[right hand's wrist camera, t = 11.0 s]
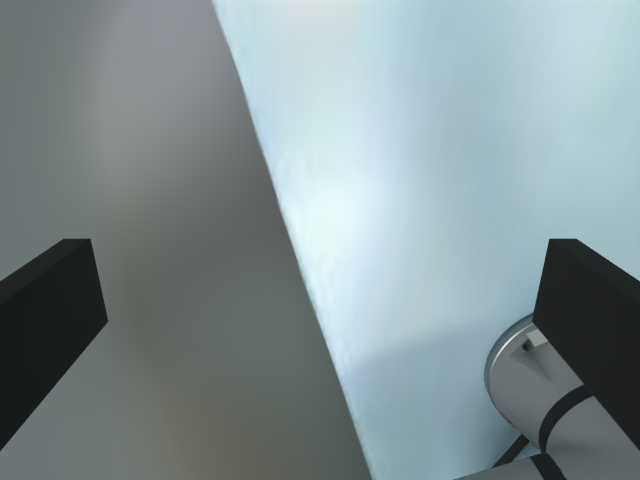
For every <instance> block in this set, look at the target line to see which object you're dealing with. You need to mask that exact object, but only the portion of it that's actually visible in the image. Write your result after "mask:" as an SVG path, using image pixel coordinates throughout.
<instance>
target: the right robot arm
mask: <svg viewBox="0 0 640 480" xmlns="http://www.w3.org/2000/svg"><path fill="white" fill-rule="evenodd" d="M107 322H108V318H107V314H106V309H105V304H104V299H103V295H102V290H101V286H100V281H99V276H98V271H97V267H96V262H95V258H94V253H93V248H92V243H91V239H63V240H61V241H60V242H58V243H57V244H55V245H54V246H52V247H51V248H49V249H48V250H46V251H45V252H43V253H42V254H40V255H39V256H37V257H36V258H34V259H33V260H31V261H30V262H28V263H27V264H25V265H24V266H22V267H21V268H19V269H18V270H17V271H15V272H13V273H12V274H11V275H9V276H8V277H6V278H5V279H3V280H2V281H0V451H1V450H2V449H3V447H4V446H5V445H6V444H7V442H8V441H9V440H10V439H11V438H12V436H13V435H14V434H15V433H16V432H17V430H18V429H19V428H20V427H21V426H22V424H23V423H24V422H25V421H26V420H27V418H28V417H29V416H30V415H31V414H32V412H33V411H34V410H35V409H36V408H37V406H38V405H39V404H40V403H41V402H42V400H43V399H44V398H45V397H46V396H47V394H48V393H49V392H50V391H51V390H52V388H53V387H54V386H55V385H56V383H57V382H58V381H59V380H60V379H61V378H62V376H63V375H64V374H65V373H66V372H67V370H68V369H69V368H70V367H71V365H72V364H73V363H74V362H75V361H76V360H77V358H78V357H79V356H80V355H81V354H82V352H83V351H84V350H85V349H86V347H87V346H88V345H89V344H90V343H91V341H92V340H93V339H94V338H95V337H96V335H97V334H98V333H99V332H100V331H101V329H102V328H103V327H104V326H105V325H106V323H107ZM484 380H485V386H486V389H487V392H488V394H489V396H490V398H491V400H492V402H493V404H494V406H495V407H496V409H497V410H498V411H499V413H500V414H501V415H502V416H503V418H504V419H505V420H506V421H508V422H509V423H510V424H511V425H513V426H514V427H515V428H517V429H518V430H519V431H520V432H521V433H522V434H521V435H520V437H519V438H518V439H517V440H516V441H515V442H514V444H513V445H512V446H511V447H510V448H509V449H508V451H507V452H506V453H505V454H504V455H503V456H502V457H501V459H500V460H499V461H498V462H497V463H496V464H495V465H494V466H493V467H492V468H491V469H488V470H484V471H481V472H478V473H474V474H471V475H468V476H464V477H461V478H458V479H454V480H640V281H638V280H637V279H635V278H634V277H632V276H631V275H629V274H628V273H627V272H625V271H624V270H622V269H621V268H619V267H618V266H616V265H615V264H613V263H612V262H610V261H609V260H607V259H606V258H604V257H603V256H601V255H600V254H598V253H597V252H595V251H594V250H592V249H591V248H589V247H588V246H586V245H585V244H583V243H582V242H580V241H579V240H577V239H549V243H548V248H547V253H546V257H545V262H544V267H543V271H542V276H541V281H540V285H539V290H538V295H537V299H536V304H535V309H534V313H533V314H531V315H529V316H527V317H525V318H523V319H522V320H520V321H518V322H517V323H515V324H514V325H513V326H511V327H510V328H509V329H508V330H507V331H506V332H505V333H504V334H503V335H502V336H501V337H500V338H499V339H498V340H497V342H496V343H495V345H494V346H493V348H492V350H491V351H490V353H489V356H488V358H487V361H486V365H485V371H484ZM529 441H530V442H531V443H533V444H534V445H535V446H536V447H537V448H538V449H539V450H540V451H541V454H537V455H534V456H531V457H527V458H524V459H521V460H518V461H515V462H512V460H513V459H514V458H515V457H516V456H517V455H518V454H519V453H520V452H521V450H522V449H523V448H524V447H525V446H526V445H527V444H528V442H529Z"/></svg>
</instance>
